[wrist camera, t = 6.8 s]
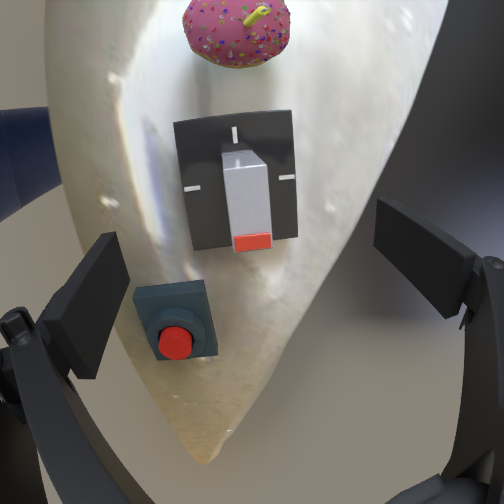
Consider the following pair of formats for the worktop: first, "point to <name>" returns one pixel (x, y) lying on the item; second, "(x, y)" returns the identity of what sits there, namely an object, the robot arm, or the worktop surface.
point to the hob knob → (247, 200)
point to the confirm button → (175, 343)
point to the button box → (177, 315)
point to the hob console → (212, 178)
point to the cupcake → (237, 30)
